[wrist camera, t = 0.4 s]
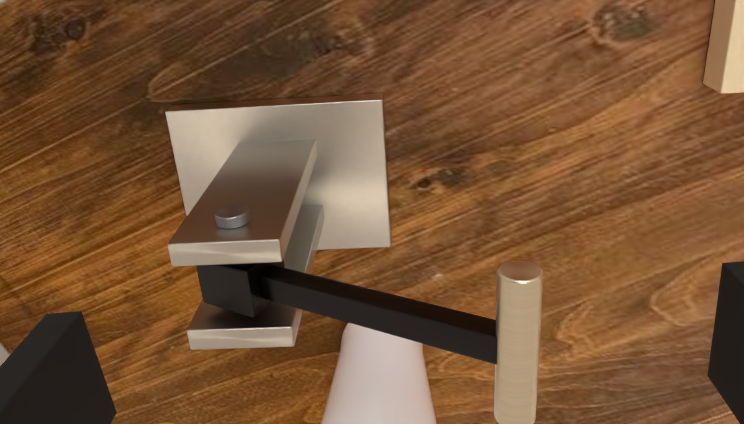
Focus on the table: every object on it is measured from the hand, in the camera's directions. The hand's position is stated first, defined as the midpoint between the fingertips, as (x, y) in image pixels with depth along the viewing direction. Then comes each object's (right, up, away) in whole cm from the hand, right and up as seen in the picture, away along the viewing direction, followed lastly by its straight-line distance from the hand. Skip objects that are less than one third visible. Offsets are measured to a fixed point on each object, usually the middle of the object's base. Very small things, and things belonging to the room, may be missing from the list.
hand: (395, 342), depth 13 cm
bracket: (-6, +5, +25) cm, 26 cm away
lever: (-1, 0, +12) cm, 12 cm away
